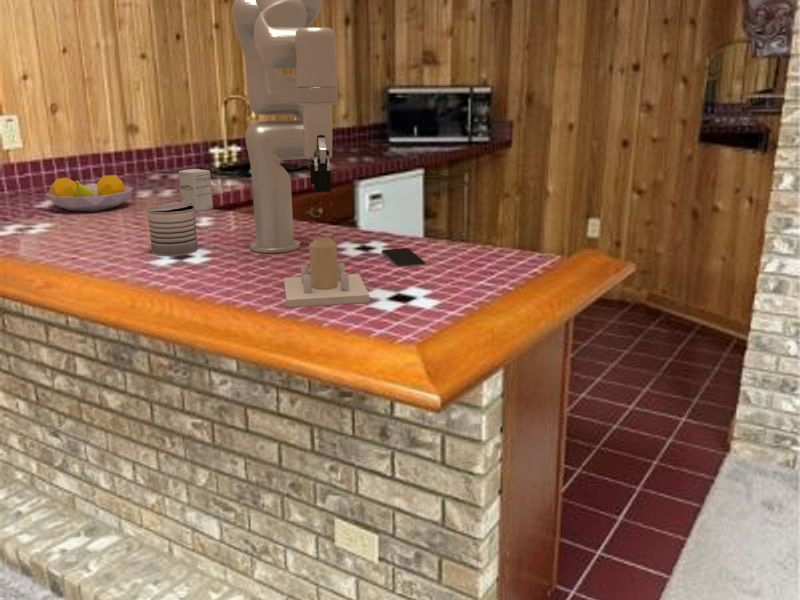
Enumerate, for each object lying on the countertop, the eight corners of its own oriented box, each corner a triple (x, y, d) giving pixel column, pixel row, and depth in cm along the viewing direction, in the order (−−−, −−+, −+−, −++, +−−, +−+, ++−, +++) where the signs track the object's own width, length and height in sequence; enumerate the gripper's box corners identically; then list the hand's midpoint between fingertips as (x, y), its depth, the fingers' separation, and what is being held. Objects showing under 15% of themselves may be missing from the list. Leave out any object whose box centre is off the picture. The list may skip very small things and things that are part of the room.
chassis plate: (284, 284, 157) (282, 261, 156) (358, 280, 160) (358, 258, 159) (287, 307, 142) (285, 282, 141) (369, 302, 145) (369, 277, 144)
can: (185, 257, 181) (180, 208, 178) (142, 255, 183) (137, 207, 180) (206, 247, 192) (202, 200, 188) (165, 245, 194) (161, 199, 191)
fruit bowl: (76, 201, 262) (71, 168, 258) (148, 202, 258) (145, 169, 255) (27, 215, 235) (21, 180, 232) (107, 217, 232) (103, 181, 228)
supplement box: (181, 209, 244) (177, 170, 241) (198, 206, 250) (195, 168, 246) (196, 211, 240) (192, 172, 237) (213, 208, 246) (210, 169, 242)
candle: (326, 280, 155) (324, 233, 152) (343, 285, 151) (342, 237, 148) (305, 285, 151) (303, 237, 148) (322, 291, 147) (320, 241, 144)
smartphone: (397, 266, 171) (380, 249, 184) (397, 270, 171) (380, 254, 185) (427, 263, 173) (408, 247, 186) (427, 268, 173) (408, 251, 187)
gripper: (295, 95, 147) (299, 181, 153) (299, 99, 131) (304, 195, 136) (332, 94, 149) (335, 180, 154) (342, 98, 132) (344, 194, 138)
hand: (320, 187), depth 145 cm, fingers open, 9 cm apart
